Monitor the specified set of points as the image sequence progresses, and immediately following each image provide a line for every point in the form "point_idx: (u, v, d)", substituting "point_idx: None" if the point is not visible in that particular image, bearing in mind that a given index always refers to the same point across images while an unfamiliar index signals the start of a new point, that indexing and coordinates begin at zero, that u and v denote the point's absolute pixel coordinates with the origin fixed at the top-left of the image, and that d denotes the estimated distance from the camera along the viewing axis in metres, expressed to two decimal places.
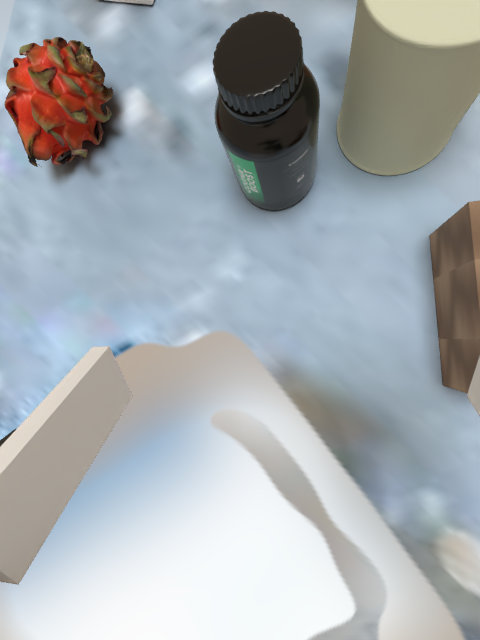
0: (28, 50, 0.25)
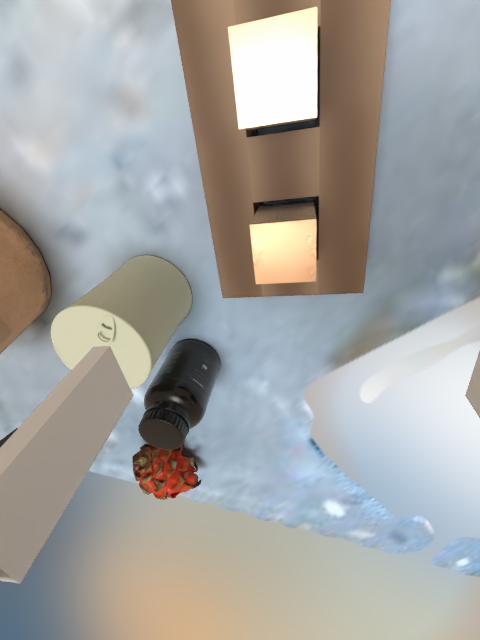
0: (145, 490, 0.46)
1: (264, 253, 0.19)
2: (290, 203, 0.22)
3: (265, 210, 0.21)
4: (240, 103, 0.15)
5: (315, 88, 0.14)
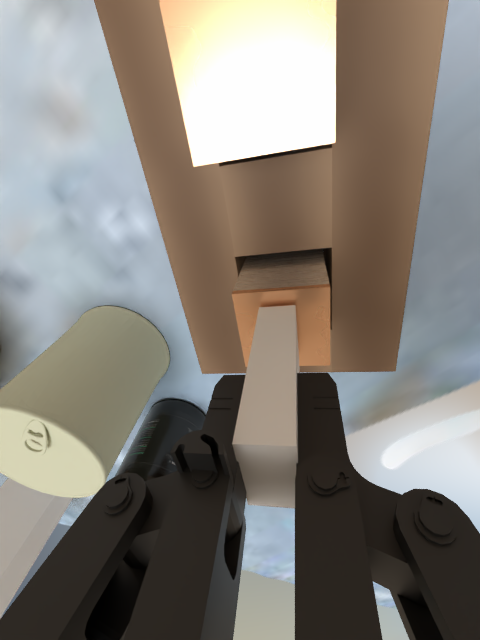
0: None
1: None
2: None
3: (256, 260, 0.16)
4: (192, 121, 0.08)
5: (332, 89, 0.07)
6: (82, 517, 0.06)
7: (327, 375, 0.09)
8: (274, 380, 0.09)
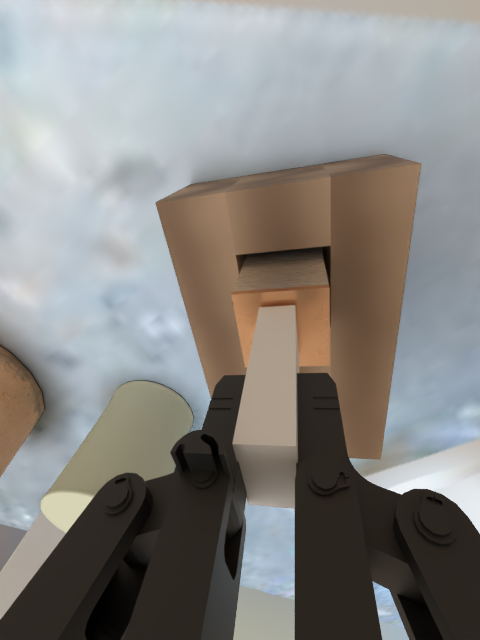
0: None
1: None
2: None
3: None
4: (246, 349, 0.14)
5: (328, 346, 0.13)
6: (83, 516, 0.06)
7: (327, 375, 0.09)
8: (274, 380, 0.09)
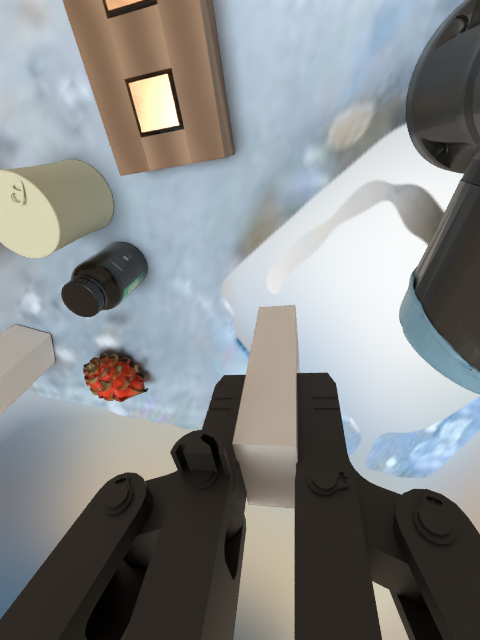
0: (94, 391, 0.52)
1: (142, 105, 0.29)
2: None
3: None
4: None
5: None
6: (83, 517, 0.06)
7: (327, 375, 0.09)
8: (274, 380, 0.09)
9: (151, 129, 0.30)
